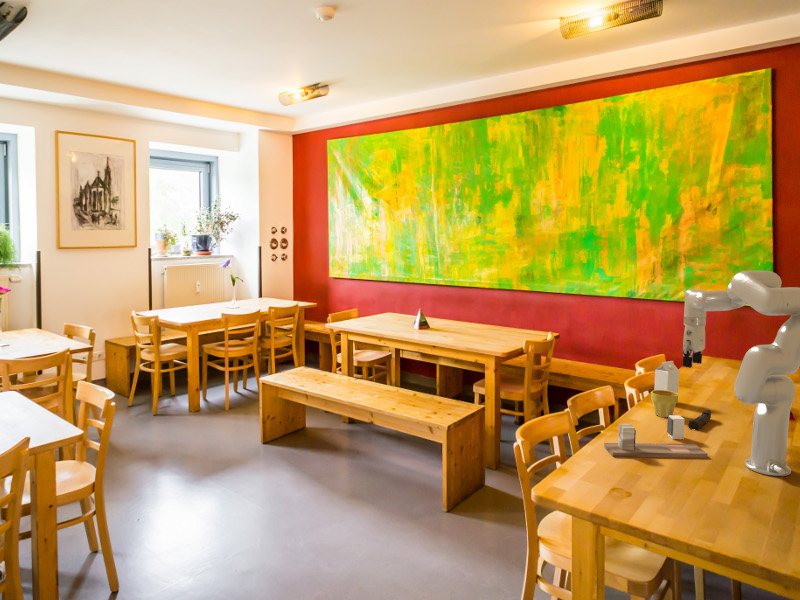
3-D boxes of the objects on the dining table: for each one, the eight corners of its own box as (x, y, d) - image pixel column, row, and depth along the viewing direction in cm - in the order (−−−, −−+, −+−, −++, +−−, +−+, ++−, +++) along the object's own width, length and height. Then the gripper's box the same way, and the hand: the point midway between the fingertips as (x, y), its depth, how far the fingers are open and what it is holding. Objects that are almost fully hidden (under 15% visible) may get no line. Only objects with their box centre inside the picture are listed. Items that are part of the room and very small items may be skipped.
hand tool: (698, 431, 218) (699, 420, 217) (687, 429, 221) (688, 417, 220) (716, 421, 230) (717, 410, 229) (706, 418, 233) (707, 408, 232)
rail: (707, 457, 191) (708, 431, 190) (612, 456, 192) (613, 430, 191) (694, 448, 200) (695, 422, 199) (604, 446, 201) (605, 421, 200)
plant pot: (656, 409, 244) (657, 388, 243) (681, 415, 237) (682, 393, 236) (645, 414, 238) (646, 392, 236) (670, 420, 230) (672, 397, 229)
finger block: (683, 439, 209) (684, 418, 208) (671, 439, 209) (672, 418, 208) (678, 435, 212) (679, 415, 212) (666, 435, 213) (667, 415, 212)
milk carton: (653, 401, 257) (655, 360, 255) (664, 399, 260) (666, 359, 258) (666, 405, 251) (668, 363, 249) (677, 403, 254) (679, 362, 252)
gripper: (696, 325, 206) (693, 370, 208) (713, 320, 218) (710, 363, 220) (675, 322, 212) (673, 366, 214) (692, 318, 223) (690, 360, 225)
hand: (692, 365), depth 217 cm, fingers open, 9 cm apart
